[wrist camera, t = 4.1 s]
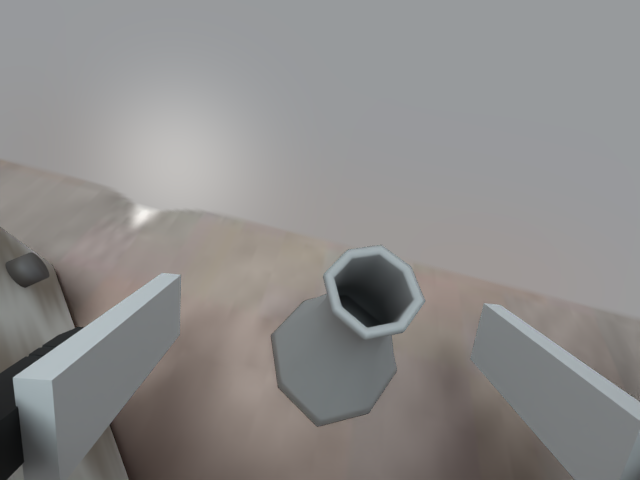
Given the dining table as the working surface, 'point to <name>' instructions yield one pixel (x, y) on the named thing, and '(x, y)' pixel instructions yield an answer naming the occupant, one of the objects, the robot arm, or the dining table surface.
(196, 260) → the dining table surface
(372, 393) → the flask
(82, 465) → the cabinet
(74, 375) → the robot arm
